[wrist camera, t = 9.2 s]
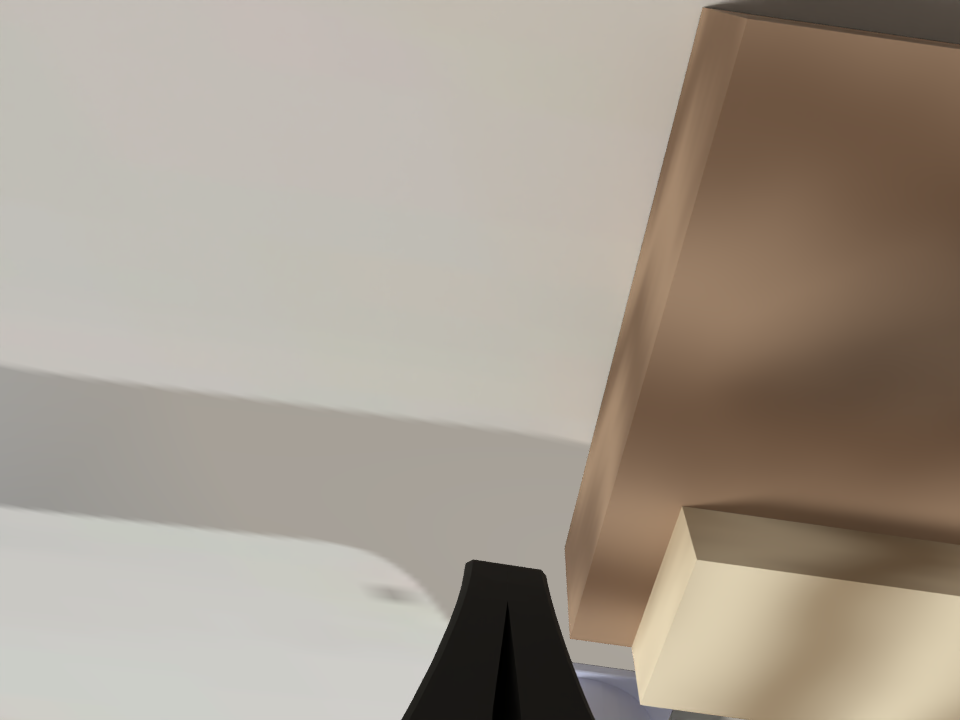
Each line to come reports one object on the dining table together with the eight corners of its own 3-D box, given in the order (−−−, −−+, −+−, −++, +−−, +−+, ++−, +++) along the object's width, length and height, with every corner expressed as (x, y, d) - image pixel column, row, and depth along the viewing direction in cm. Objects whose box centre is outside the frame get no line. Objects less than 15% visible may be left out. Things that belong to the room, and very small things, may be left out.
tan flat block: (884, 591, 26) (939, 689, 22) (564, 547, 26) (569, 638, 22) (1192, 78, 17) (1364, 107, 13) (702, 7, 17) (747, 18, 13)
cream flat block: (1001, 550, 19) (1048, 608, 18) (908, 685, 22) (940, 746, 21) (681, 506, 19) (697, 559, 18) (631, 647, 22) (640, 704, 21)
